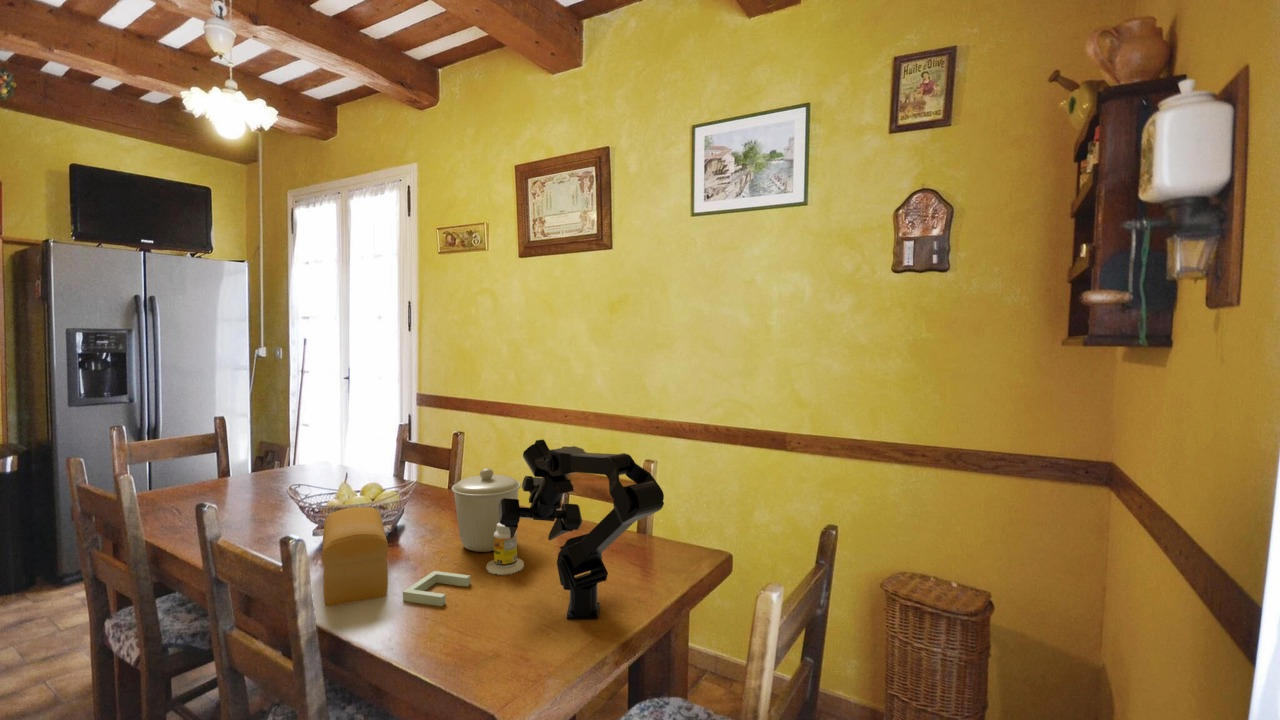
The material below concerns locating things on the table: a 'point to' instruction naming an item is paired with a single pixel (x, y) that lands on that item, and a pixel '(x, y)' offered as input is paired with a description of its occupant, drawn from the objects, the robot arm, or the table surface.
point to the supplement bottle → (504, 547)
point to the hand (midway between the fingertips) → (530, 537)
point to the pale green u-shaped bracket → (418, 589)
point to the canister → (481, 507)
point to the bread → (354, 556)
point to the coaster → (505, 571)
